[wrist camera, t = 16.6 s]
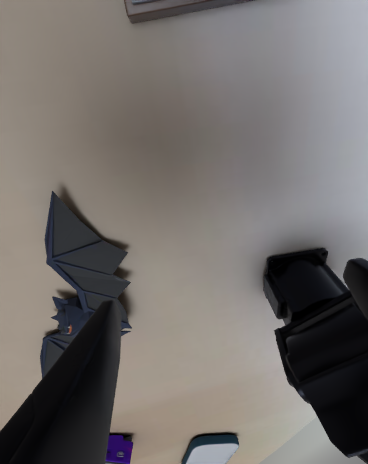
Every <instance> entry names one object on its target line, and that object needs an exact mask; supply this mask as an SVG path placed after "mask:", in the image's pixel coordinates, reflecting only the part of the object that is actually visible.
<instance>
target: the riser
mask: <svg viewBox="0 0 368 464" xmlns="http://www.w3.org/2000/svg"><path fill="white" fill-rule="evenodd" d="M248 1H253V0H124V2H125V7H126V12H127V16H128V17H129V19H130V21H131V23H137V22H142V21H148V20H153V19H158V18H164V17H169V16H174V15H179V14H185V13H190V12H195V11H200V10H206V9H211V8H216V7H222V6H227V5H232V4H237V3H243V2H248Z"/></svg>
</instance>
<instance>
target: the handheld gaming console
mask: <svg viewBox="0 0 368 464" xmlns="http://www.w3.org/2000/svg"><path fill="white" fill-rule="evenodd" d="M131 441H132V437H126V438H123V436H122V435H109V440H108V447H107V454H106V461H105V464H130V460H131V454H132V448H133V442H131Z"/></svg>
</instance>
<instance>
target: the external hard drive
mask: <svg viewBox="0 0 368 464" xmlns="http://www.w3.org/2000/svg"><path fill="white" fill-rule="evenodd" d="M238 447H239V442H238V438H237V436H235V435H214V436H202V437H198V438H195V439H194V440H193V441H192V442H191V444H190V446H189V448H188V450H187V453H186V455H185V457H184V459H183V461H182V464H226V463H227V462H228V460H229V459H230V458H231V457H232V455H233V454H234V453H235V451H236V450H237V449H238Z"/></svg>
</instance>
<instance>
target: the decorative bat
mask: <svg viewBox="0 0 368 464" xmlns="http://www.w3.org/2000/svg"><path fill="white" fill-rule="evenodd" d="M45 246H46V254H47V261H46V263H47V264H48V265H49V266H51V267H52V268H53V269H54V270H55V271H56V272H57V273H58V274H59V275H60V276H61V277H62V278H63V279H64V280H65V281H67V282H68V283H69V284H70V285H71V286H72V287H73V288H74V289H76V290H77V293H78V296H79V299H80V300H79V299H78V298H77V297H75V298H70V299H66V300H64V299H60V298H57V297H52V298H53V300H54V303H55V306H56V308H57V309H58V313H57V315H55V316H53V317H51V318H53V319H55V320H57V321H58V322H59V325H58V327H57V328H58V330H61V332H58V333H55V334H52V335H48V336H46V337H44V338H43V344H42V350H41V355H40V361H41V370H42V378H43V377H44V376H45V375H46V373H47V372H48V371H49V369H50V368H51V367H52V366H53V364H54V363H55V362H56V361H57V359H58V358H59V357H60V355H61V354H62V353H63V352H64V350H65V349H66V348H67V346H68V345H69V344H70V343H71V341H72V340H73V339H74V337H75V336H76V335H77V334H78V332H79V331H80V330H81V328H82V327H83V326H84V325H85V323H86V322H87V321H88V319H89V318H90V317H91V316H92V314H93V313H94V312H95V311H96V309H97V308H98V307H99V305H100V304H101V303H102V302H103V301H106V300H114V301H115V302H116V304H117V306H118V308H119V310H120V313H121V330H122V329H124V328H132V327H131V326H130V325H129V323H128V318H127V313H126V311H125V309H124V308H123V306H122V305H121V303H120V301H119V300H118V298H117V297H118V296H119V295H120V294H121V293H122V292H123V291H124V290H125V288H126V287H127V286H128V285H129V284H130V283H131V282H129V281H127V280H124V279H122V278H120V277H118V276H115V275H113V273H114V272H115V270H116V269H117V267H118V266H119V265H120V263H121V262H122V260H123V259H124V257H125V256H126V255H127V253H128V252H126V251H124V250H122V249H120V248H118V247H116V246H113V245H111V244H109V243H107V242H105V241H103V240H102V239H101V238H99V237H98V236H97V235H96V234H95V233H94V232H93V231H91V230H90V229H89V228H88V227H87V226H86V225H85V224H83V223H82V222H81V221H80V220H79V219H78V218H77V217H76V216H75V215H74V214H73V212H72V211H71V210H70V209H69V208H68V207H67V206H66V205H65V204H64V203H63V202H62V201H61V199H60V198H59V197H58V196H57V195H56V194H55V193H54V192H53V191H52V195H51V202H50V208H49V215H48V221H47V228H46V234H45ZM128 332H131V331H121V336H123V335H124V334H126V333H128Z"/></svg>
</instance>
